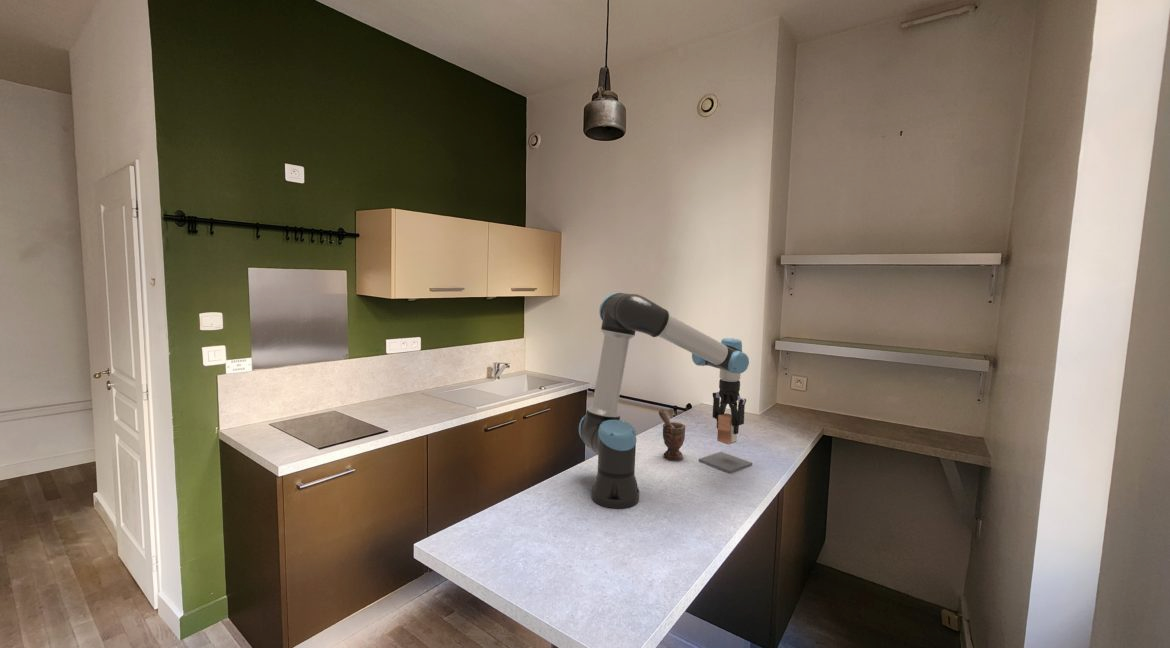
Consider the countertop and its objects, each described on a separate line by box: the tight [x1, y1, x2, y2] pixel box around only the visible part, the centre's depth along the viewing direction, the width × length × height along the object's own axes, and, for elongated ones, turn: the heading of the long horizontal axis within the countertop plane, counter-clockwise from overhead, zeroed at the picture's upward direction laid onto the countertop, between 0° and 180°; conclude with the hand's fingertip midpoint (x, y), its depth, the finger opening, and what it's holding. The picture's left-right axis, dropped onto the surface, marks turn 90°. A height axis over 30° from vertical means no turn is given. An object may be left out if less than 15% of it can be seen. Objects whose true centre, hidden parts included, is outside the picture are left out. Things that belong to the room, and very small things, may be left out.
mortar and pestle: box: [658, 408, 686, 461], centre depth 182 cm, size 12×9×20 cm
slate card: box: [698, 451, 753, 474], centre depth 180 cm, size 14×14×1 cm
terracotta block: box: [716, 413, 738, 445], centre depth 178 cm, size 5×5×10 cm
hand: (726, 439), depth 179 cm, fingers closed on terracotta block, 5 cm apart
